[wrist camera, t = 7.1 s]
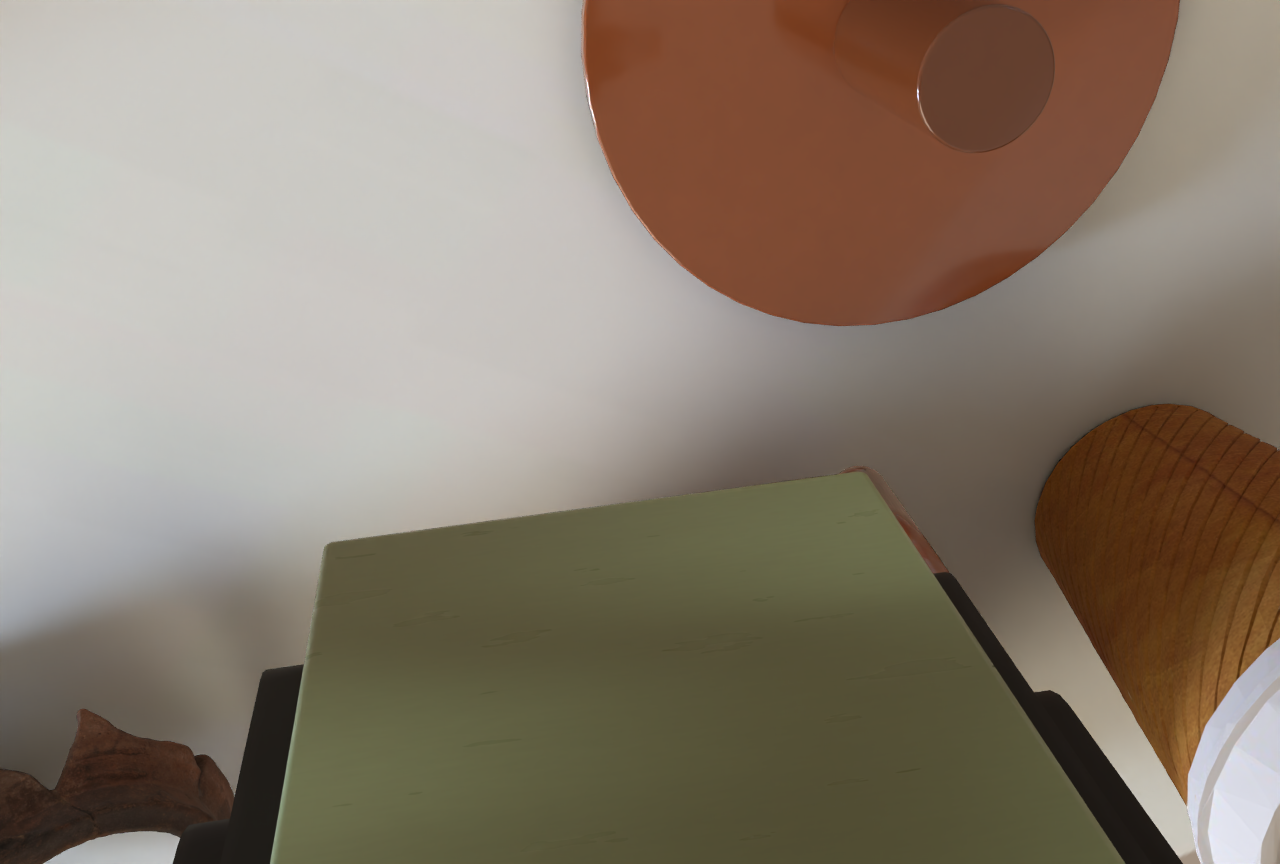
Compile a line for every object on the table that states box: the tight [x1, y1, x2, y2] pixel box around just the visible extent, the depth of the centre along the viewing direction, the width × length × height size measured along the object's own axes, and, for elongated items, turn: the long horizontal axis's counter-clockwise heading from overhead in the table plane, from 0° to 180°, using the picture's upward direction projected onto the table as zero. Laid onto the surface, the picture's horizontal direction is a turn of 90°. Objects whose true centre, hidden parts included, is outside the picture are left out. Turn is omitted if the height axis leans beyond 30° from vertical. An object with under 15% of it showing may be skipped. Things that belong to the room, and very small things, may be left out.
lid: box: [581, 0, 1180, 326], centre depth 23 cm, size 13×13×6 cm
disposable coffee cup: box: [1035, 404, 1280, 864], centre depth 28 cm, size 10×10×12 cm
